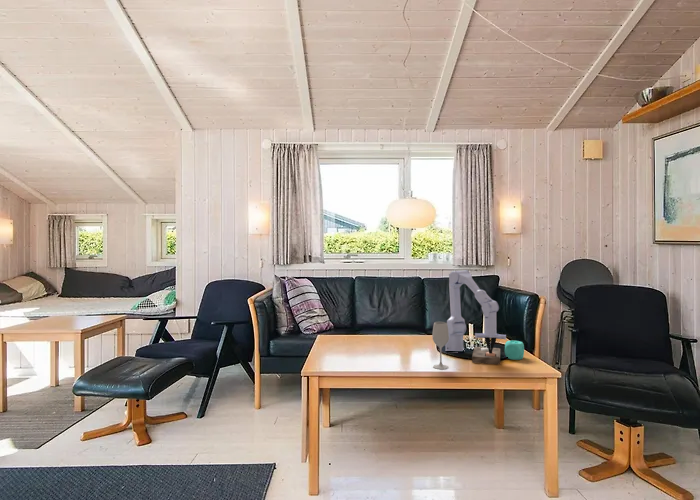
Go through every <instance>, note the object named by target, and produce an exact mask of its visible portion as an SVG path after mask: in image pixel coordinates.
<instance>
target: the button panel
mask: <svg viewBox="0 0 700 500" xmlns="http://www.w3.org/2000/svg"><path fill="white" fill-rule="evenodd" d="M481 348H487V347H484V346H483V347H482V346H474V347H473V351H472V356H471V363H474V364H475V363H476V364H485V365H486V364H489V365H501V348H499V347H493V350H492V352H494V353H495V356H486V352H489V351H484V350H481ZM490 349H491V347H490Z"/></svg>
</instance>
